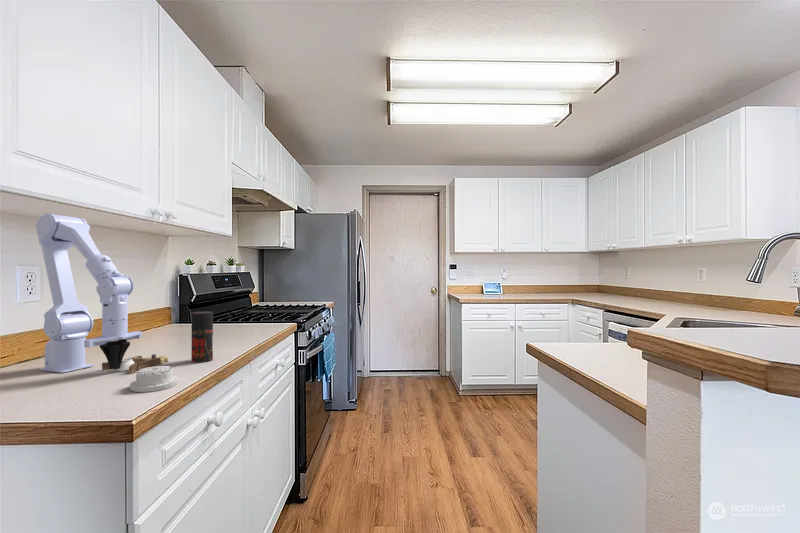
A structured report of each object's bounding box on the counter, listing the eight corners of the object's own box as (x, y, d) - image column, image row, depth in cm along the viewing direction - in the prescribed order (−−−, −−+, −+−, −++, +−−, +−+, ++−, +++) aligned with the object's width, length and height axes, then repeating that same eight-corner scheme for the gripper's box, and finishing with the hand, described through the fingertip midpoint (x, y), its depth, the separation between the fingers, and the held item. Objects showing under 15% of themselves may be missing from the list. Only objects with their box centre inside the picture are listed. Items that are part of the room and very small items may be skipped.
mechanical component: (118, 391, 91) (154, 394, 88) (119, 373, 91) (154, 375, 88) (154, 379, 100) (187, 382, 98) (154, 362, 100) (187, 365, 98)
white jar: (119, 368, 111) (111, 372, 106) (119, 358, 111) (111, 362, 106) (139, 367, 112) (131, 371, 108) (139, 357, 112) (131, 361, 108)
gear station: (100, 370, 108) (100, 361, 108) (150, 358, 123) (150, 350, 123) (130, 374, 105) (130, 365, 105) (179, 361, 119) (179, 353, 119)
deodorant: (189, 360, 120) (189, 312, 120) (209, 357, 124) (209, 311, 124) (194, 363, 116) (194, 314, 116) (215, 360, 120) (215, 312, 120)
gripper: (97, 323, 98) (97, 376, 98) (150, 317, 112) (150, 363, 112) (78, 322, 101) (78, 374, 101) (132, 316, 114) (132, 361, 114)
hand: (114, 368), depth 106 cm, fingers closed
